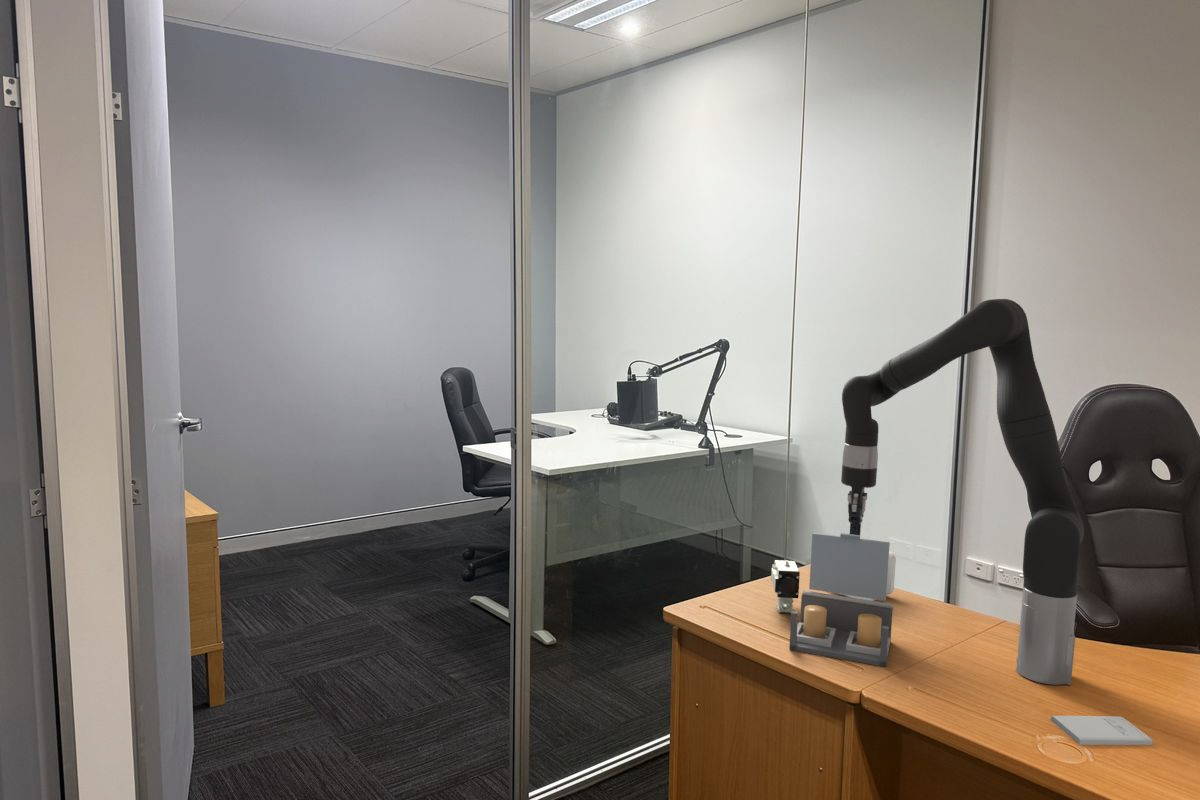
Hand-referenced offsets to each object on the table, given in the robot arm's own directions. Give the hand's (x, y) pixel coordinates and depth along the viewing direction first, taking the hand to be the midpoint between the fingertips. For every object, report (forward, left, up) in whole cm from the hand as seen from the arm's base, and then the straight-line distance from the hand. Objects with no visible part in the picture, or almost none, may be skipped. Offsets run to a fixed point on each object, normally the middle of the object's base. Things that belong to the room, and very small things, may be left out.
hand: (854, 538), depth 187 cm
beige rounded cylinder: (-6, +17, -18) cm, 25 cm away
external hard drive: (-45, +35, -20) cm, 60 cm away
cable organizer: (0, -18, -19) cm, 26 cm away
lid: (0, +11, -3) cm, 12 cm away
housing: (0, +17, -19) cm, 25 cm away
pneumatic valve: (+15, +2, -19) cm, 24 cm away
